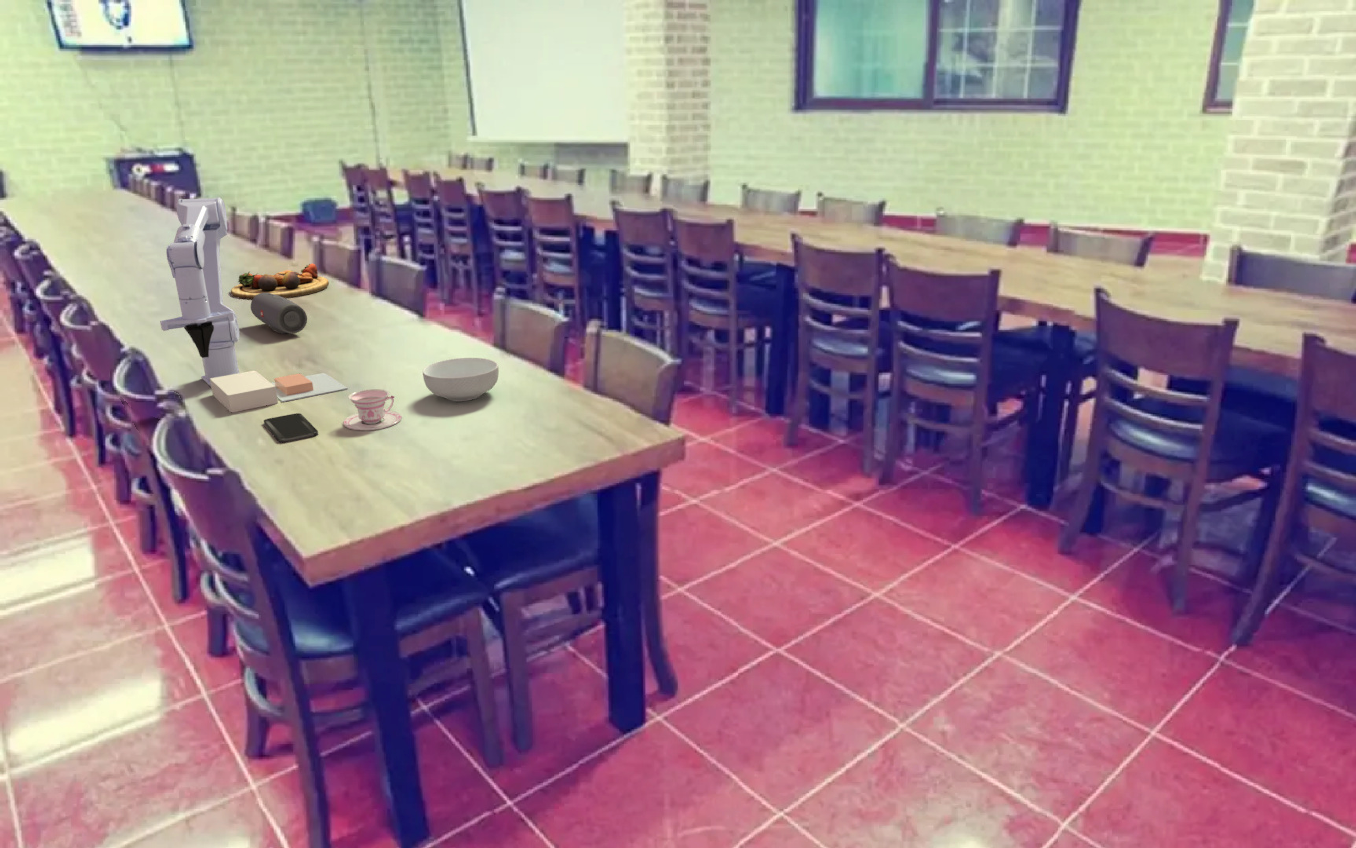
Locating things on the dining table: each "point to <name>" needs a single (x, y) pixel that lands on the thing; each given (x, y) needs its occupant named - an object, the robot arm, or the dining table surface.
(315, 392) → the mat
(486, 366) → the cereal bowl
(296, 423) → the phone
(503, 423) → the dining table surface
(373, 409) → the teacup
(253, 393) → the cream rectangular block
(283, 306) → the bluetooth speaker
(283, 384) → the terracotta tile
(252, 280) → the wooden plate with food
